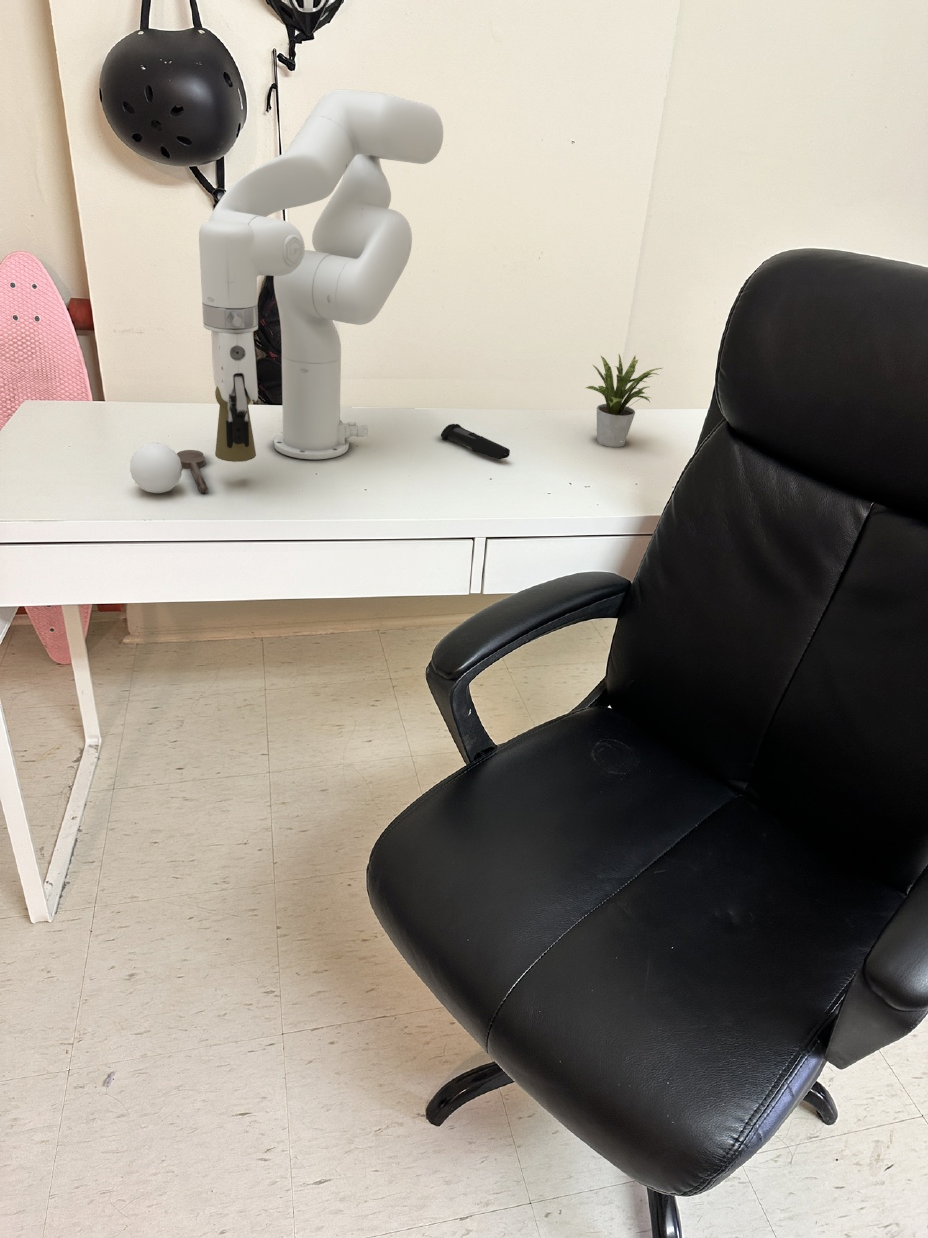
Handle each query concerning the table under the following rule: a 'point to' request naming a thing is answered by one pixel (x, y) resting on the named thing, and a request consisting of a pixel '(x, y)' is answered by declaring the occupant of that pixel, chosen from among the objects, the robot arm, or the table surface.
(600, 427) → the house plant
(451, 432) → the electric trimmer
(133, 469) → the white ovoid
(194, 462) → the wooden spoon
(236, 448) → the cork
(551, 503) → the table surface
